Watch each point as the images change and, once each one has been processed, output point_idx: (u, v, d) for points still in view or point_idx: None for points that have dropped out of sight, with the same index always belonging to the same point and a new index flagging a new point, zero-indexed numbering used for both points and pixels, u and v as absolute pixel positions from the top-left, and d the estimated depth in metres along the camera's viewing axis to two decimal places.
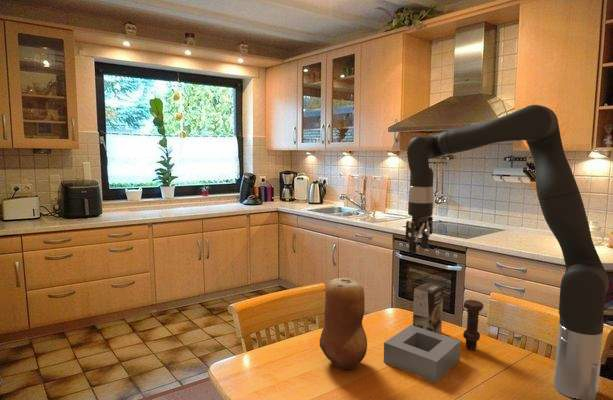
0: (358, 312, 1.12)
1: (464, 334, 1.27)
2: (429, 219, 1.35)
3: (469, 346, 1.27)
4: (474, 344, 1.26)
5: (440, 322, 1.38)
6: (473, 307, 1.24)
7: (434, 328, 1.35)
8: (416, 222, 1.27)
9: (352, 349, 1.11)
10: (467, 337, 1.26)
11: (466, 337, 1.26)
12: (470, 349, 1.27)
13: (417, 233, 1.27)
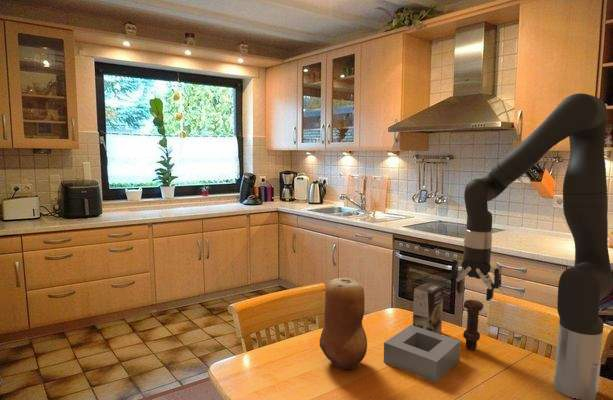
0: (358, 312, 1.12)
1: (464, 334, 1.27)
2: None
3: (469, 346, 1.27)
4: (474, 344, 1.26)
5: (440, 322, 1.38)
6: (473, 307, 1.24)
7: (434, 328, 1.35)
8: None
9: (352, 349, 1.11)
10: (467, 337, 1.26)
11: (466, 337, 1.26)
12: (470, 349, 1.27)
13: (490, 278, 1.23)
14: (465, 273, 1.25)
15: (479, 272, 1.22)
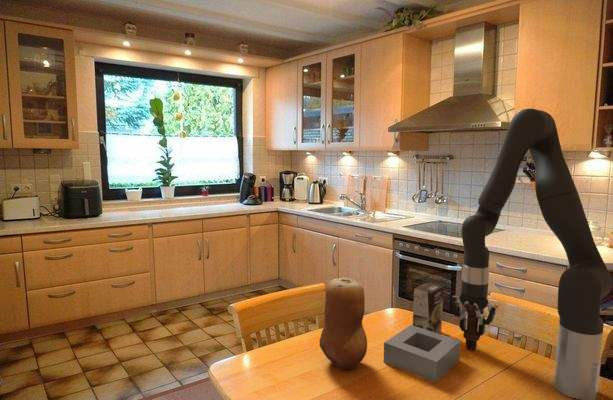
0: (358, 312, 1.12)
1: (464, 334, 1.27)
2: None
3: (469, 346, 1.27)
4: (474, 344, 1.26)
5: (440, 322, 1.38)
6: (473, 307, 1.24)
7: (434, 328, 1.35)
8: None
9: (352, 349, 1.11)
10: (467, 337, 1.26)
11: (466, 337, 1.26)
12: (470, 349, 1.27)
13: (484, 314, 1.25)
14: (465, 309, 1.26)
15: None
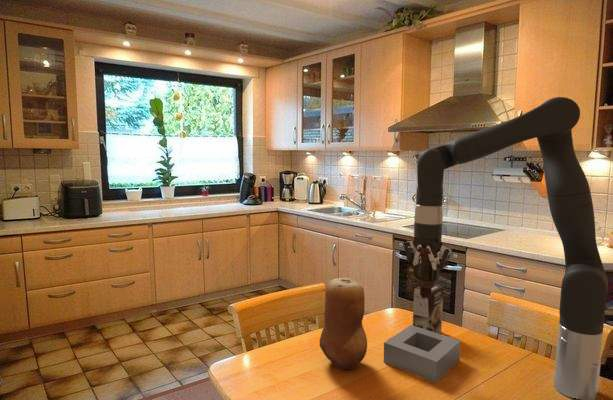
0: (358, 312, 1.12)
1: (418, 281, 1.17)
2: None
3: (423, 294, 1.17)
4: (428, 291, 1.17)
5: (440, 322, 1.38)
6: (426, 250, 1.14)
7: (434, 328, 1.35)
8: None
9: (352, 349, 1.11)
10: (420, 284, 1.16)
11: (419, 284, 1.17)
12: (424, 297, 1.17)
13: (438, 258, 1.16)
14: (418, 253, 1.16)
15: (429, 250, 1.14)
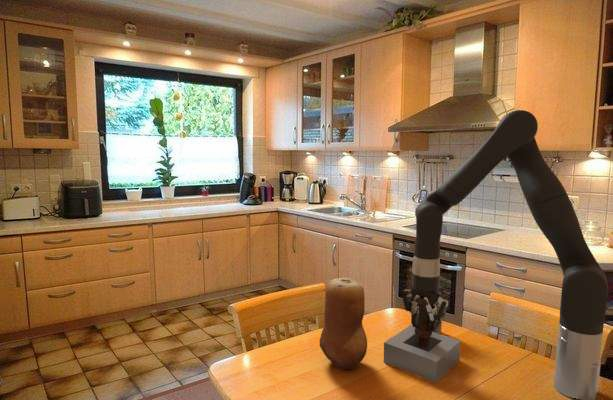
0: (358, 312, 1.12)
1: (415, 330, 1.19)
2: None
3: (420, 343, 1.19)
4: (426, 341, 1.19)
5: (440, 322, 1.38)
6: (423, 301, 1.16)
7: None
8: None
9: (352, 349, 1.11)
10: (418, 333, 1.18)
11: (417, 333, 1.19)
12: (421, 346, 1.19)
13: (435, 308, 1.18)
14: (416, 303, 1.18)
15: None
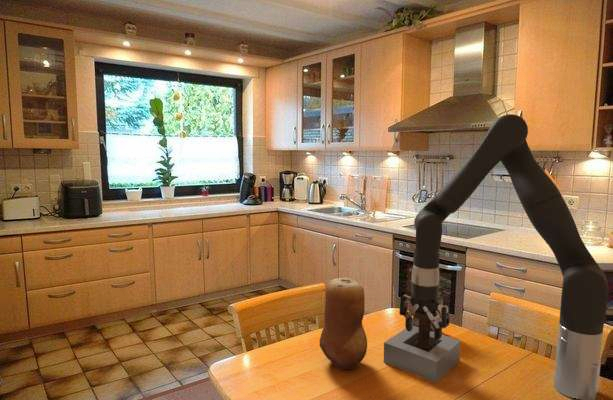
0: (358, 312, 1.12)
1: (415, 345, 1.20)
2: None
3: None
4: None
5: None
6: (423, 317, 1.16)
7: (434, 328, 1.35)
8: (438, 305, 1.16)
9: (352, 349, 1.11)
10: None
11: None
12: None
13: (438, 316, 1.17)
14: (413, 310, 1.19)
15: (426, 310, 1.16)
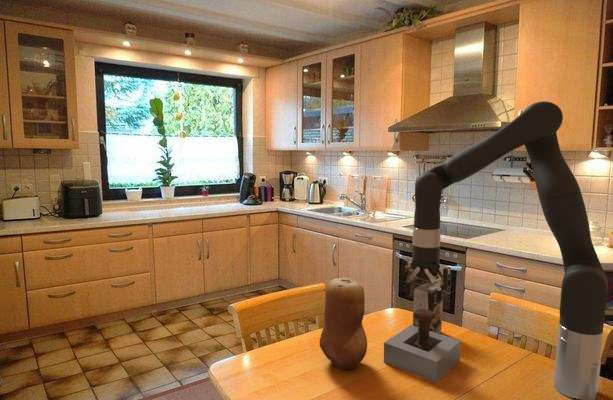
0: (358, 312, 1.12)
1: (415, 345, 1.20)
2: None
3: None
4: None
5: (440, 322, 1.38)
6: (422, 317, 1.16)
7: (434, 328, 1.35)
8: (440, 267, 1.15)
9: (352, 349, 1.11)
10: None
11: None
12: None
13: (440, 278, 1.16)
14: (414, 274, 1.17)
15: (428, 272, 1.14)
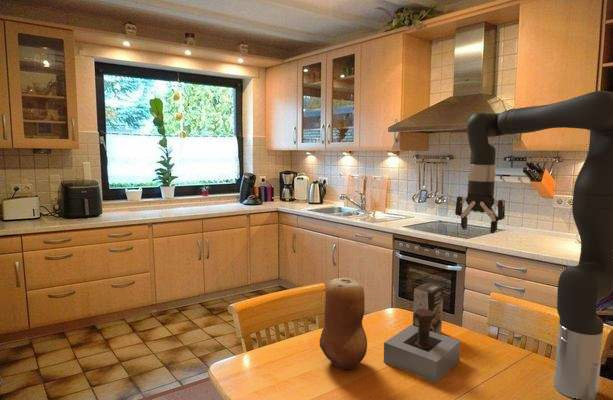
0: (358, 312, 1.12)
1: (415, 345, 1.20)
2: None
3: None
4: None
5: (440, 322, 1.38)
6: (423, 317, 1.16)
7: (434, 328, 1.35)
8: None
9: (352, 349, 1.11)
10: None
11: None
12: None
13: (494, 211, 1.26)
14: (469, 208, 1.28)
15: (483, 205, 1.25)
